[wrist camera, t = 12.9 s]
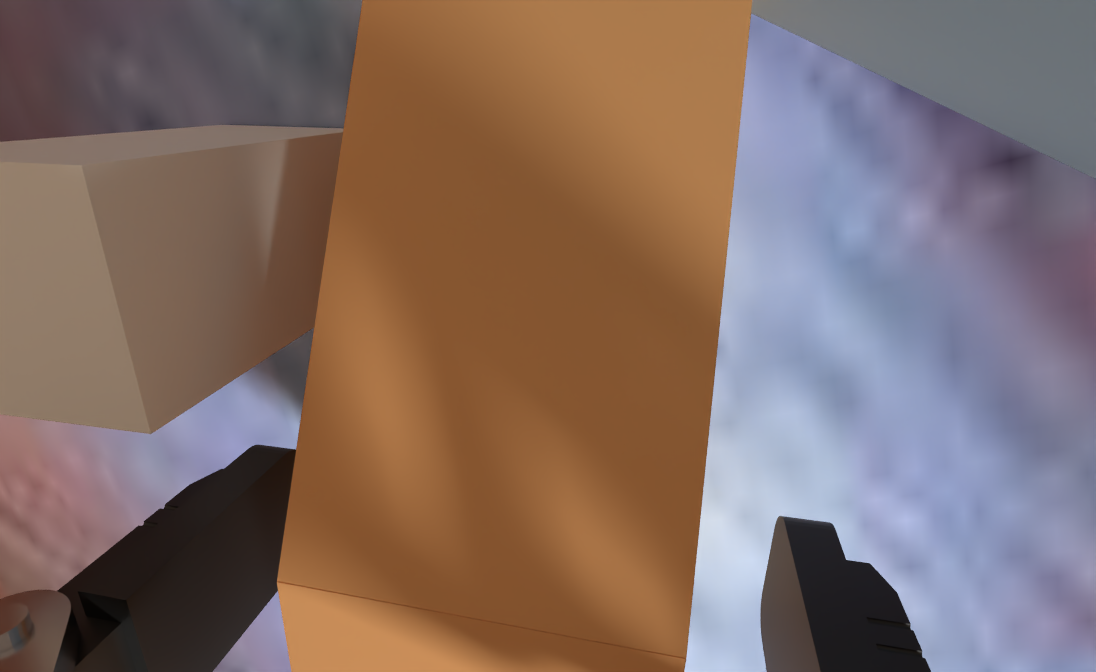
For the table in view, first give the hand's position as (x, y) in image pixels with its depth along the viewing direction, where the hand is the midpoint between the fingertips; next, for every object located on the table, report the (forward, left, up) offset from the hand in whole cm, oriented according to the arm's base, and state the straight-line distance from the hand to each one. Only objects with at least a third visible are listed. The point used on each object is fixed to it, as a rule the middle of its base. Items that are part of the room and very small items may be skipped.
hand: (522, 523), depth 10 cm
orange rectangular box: (0, -3, -3) cm, 4 cm away
